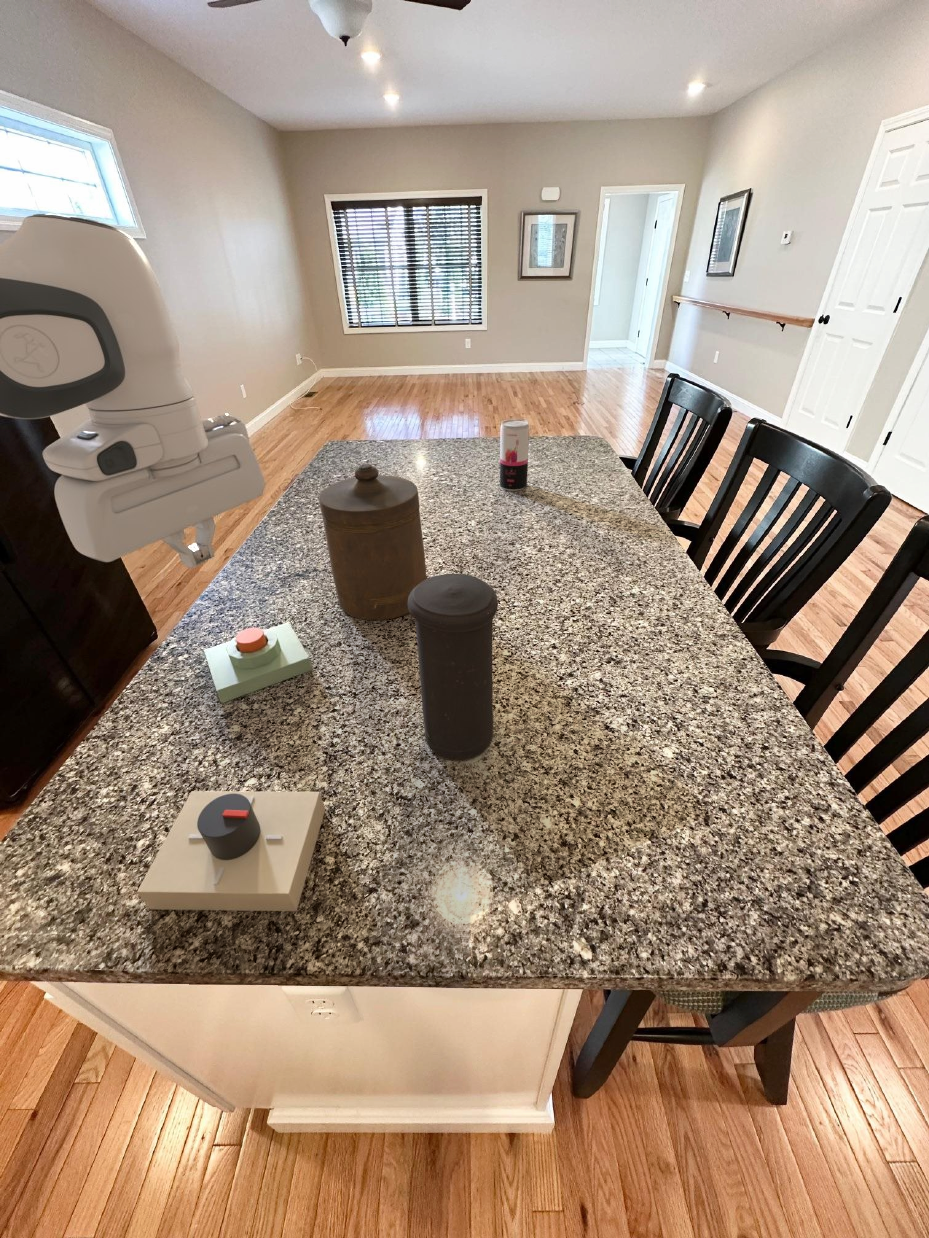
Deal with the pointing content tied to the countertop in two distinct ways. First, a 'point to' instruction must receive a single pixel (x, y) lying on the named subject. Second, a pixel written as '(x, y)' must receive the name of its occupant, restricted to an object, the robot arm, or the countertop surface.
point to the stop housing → (257, 663)
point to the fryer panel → (244, 882)
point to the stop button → (251, 640)
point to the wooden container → (374, 542)
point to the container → (455, 662)
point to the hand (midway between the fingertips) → (199, 561)
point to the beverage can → (514, 454)
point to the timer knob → (229, 826)
